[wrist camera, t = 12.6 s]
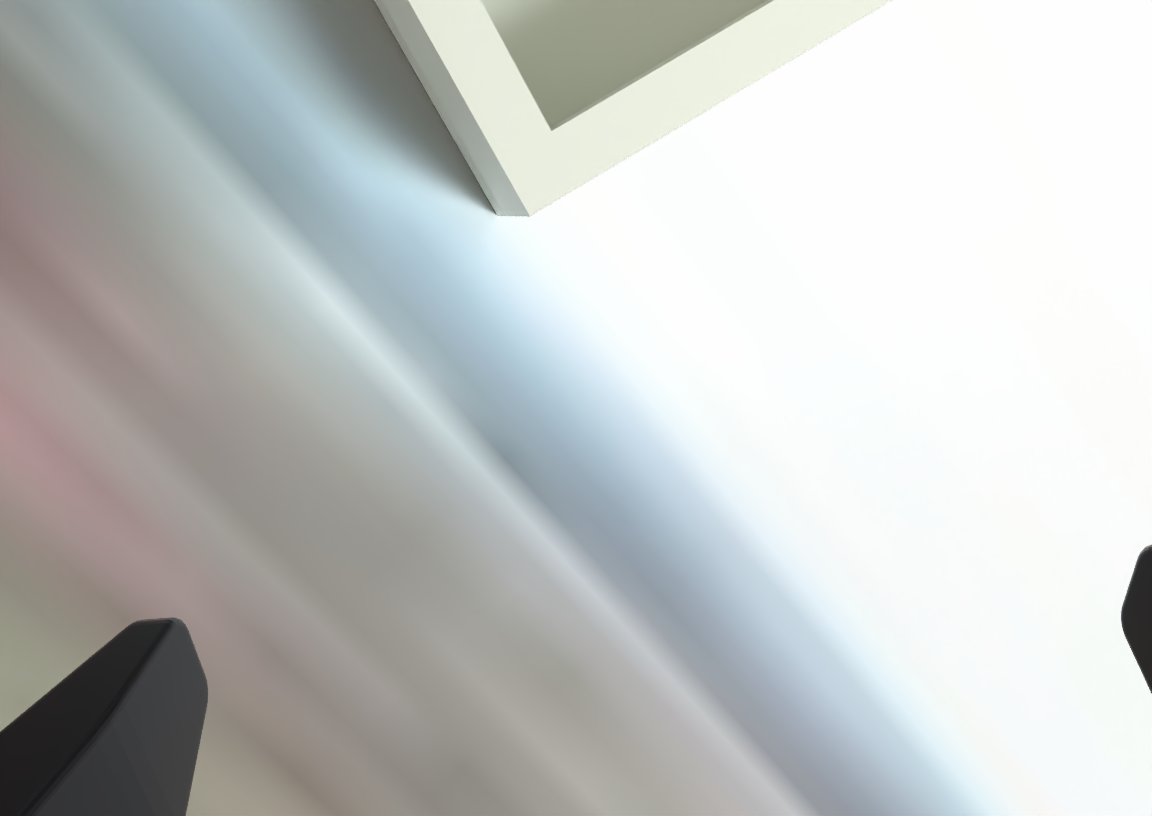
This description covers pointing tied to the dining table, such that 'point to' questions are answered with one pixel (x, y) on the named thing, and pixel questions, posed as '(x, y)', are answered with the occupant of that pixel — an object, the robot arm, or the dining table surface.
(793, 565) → the dining table surface
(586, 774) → the dining table surface
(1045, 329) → the dining table surface
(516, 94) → the bin
